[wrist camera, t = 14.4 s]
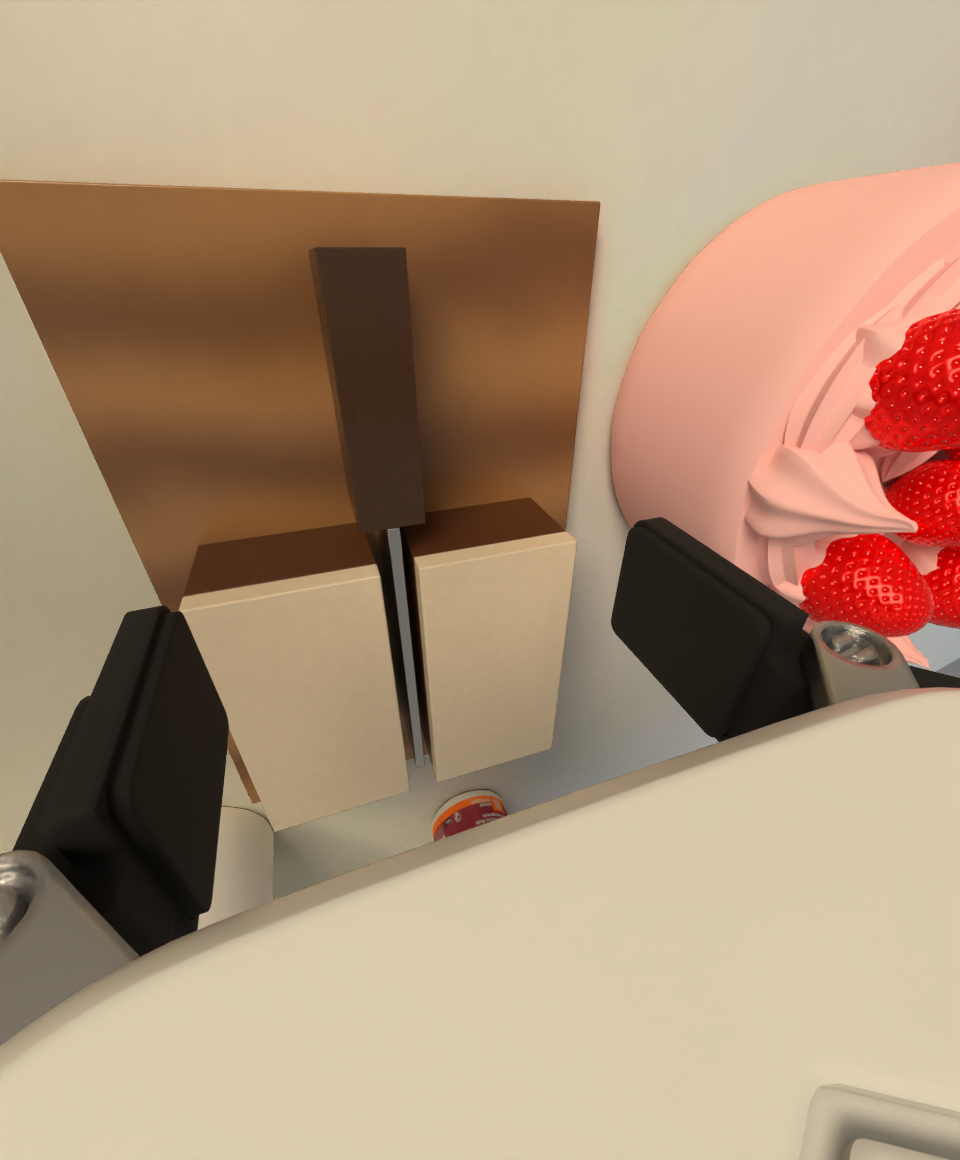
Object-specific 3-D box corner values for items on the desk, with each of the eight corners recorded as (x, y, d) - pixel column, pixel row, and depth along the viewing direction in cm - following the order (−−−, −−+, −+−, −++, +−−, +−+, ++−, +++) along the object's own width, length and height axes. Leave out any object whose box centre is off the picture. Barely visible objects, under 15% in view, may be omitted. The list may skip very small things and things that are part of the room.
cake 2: (395, 516, 23) (418, 569, 19) (530, 496, 25) (578, 540, 21) (417, 716, 30) (437, 783, 27) (519, 689, 32) (551, 748, 28)
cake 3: (965, 249, 27) (1466, 238, 15) (782, 563, 36) (1006, 698, 25) (700, 114, 19) (1300, -101, 8) (557, 556, 29) (734, 745, 17)
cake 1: (197, 544, 20) (177, 611, 17) (363, 520, 22) (380, 575, 18) (275, 753, 28) (273, 833, 24) (393, 722, 30) (410, 791, 26)
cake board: (-17, 182, 14) (-35, 178, 13) (588, 204, 19) (601, 201, 19) (253, 790, 31) (252, 804, 30) (539, 710, 36) (545, 720, 35)
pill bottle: (503, 779, 39) (568, 931, 30) (497, 822, 42) (554, 971, 33) (429, 798, 37) (475, 967, 28) (429, 842, 41) (470, 1006, 32)
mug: (243, 907, 37) (230, 1130, 27) (99, 861, 29) (13, 1144, 20) (333, 849, 37) (350, 1054, 27) (211, 789, 29) (176, 1040, 20)
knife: (308, 249, 16) (313, 246, 13) (383, 249, 17) (406, 247, 14) (385, 719, 30) (397, 774, 27) (426, 709, 30) (443, 761, 27)
